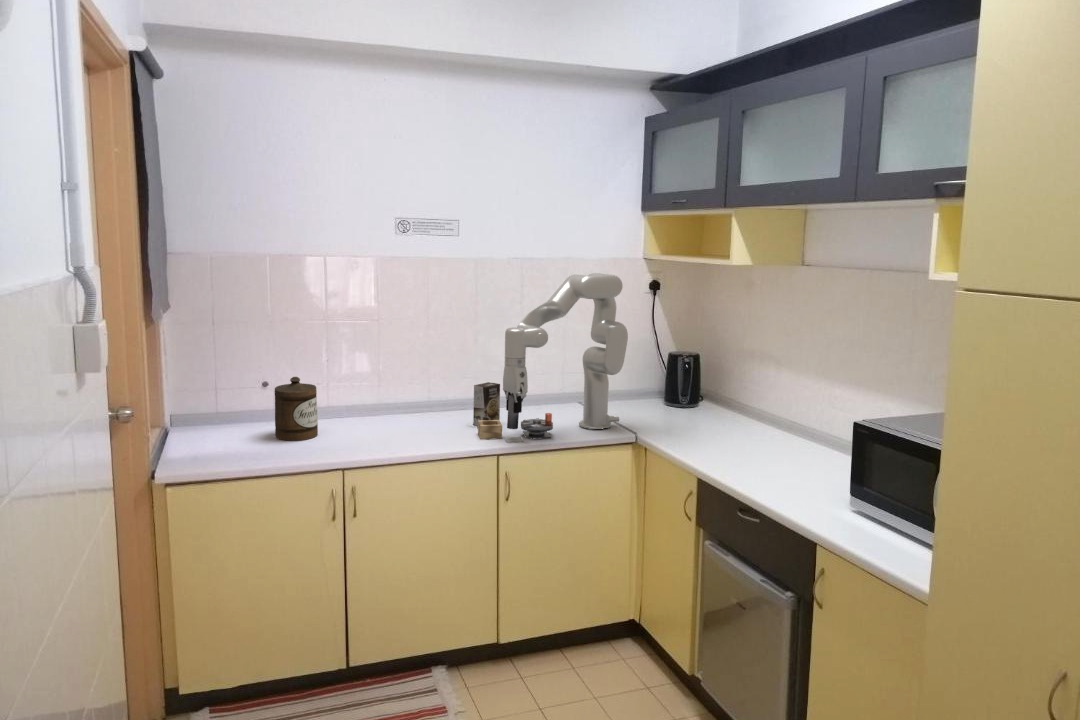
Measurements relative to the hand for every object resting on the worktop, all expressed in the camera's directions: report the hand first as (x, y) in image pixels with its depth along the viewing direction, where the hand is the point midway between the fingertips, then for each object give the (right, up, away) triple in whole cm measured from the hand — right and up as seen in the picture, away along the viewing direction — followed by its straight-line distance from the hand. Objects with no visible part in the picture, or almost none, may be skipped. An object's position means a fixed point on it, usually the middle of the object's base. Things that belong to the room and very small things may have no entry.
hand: (513, 410), depth 286 cm
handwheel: (+8, -7, +8) cm, 14 cm away
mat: (0, -11, +2) cm, 11 cm away
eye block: (-9, -10, +7) cm, 15 cm away
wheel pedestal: (+8, -10, +9) cm, 15 cm away
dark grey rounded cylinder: (-1, -6, +1) cm, 6 cm away
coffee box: (-12, -7, +23) cm, 27 cm away
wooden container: (-80, -9, +2) cm, 80 cm away
